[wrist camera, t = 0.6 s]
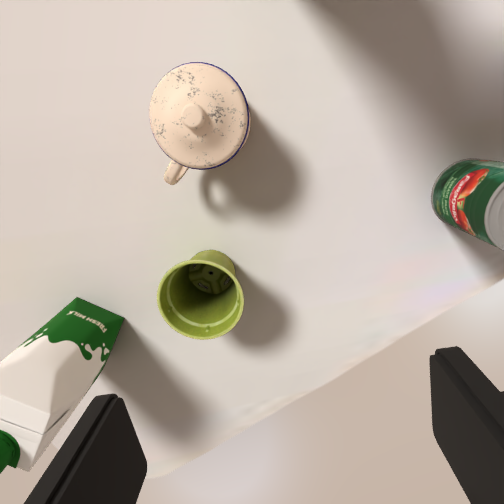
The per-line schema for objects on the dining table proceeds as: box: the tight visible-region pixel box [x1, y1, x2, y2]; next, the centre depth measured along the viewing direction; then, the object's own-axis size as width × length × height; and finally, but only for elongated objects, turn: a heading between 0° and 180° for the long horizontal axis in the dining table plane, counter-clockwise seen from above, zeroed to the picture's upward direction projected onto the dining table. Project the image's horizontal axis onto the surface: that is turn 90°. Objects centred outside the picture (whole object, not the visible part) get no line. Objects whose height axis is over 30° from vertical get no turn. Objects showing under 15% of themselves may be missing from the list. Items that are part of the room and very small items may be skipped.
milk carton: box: [0, 297, 124, 473], centre depth 39 cm, size 9×9×20 cm
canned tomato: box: [431, 159, 504, 251], centre depth 36 cm, size 8×8×11 cm
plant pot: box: [157, 250, 244, 340], centre depth 41 cm, size 9×9×9 cm
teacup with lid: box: [150, 62, 251, 185], centre depth 34 cm, size 12×9×12 cm
